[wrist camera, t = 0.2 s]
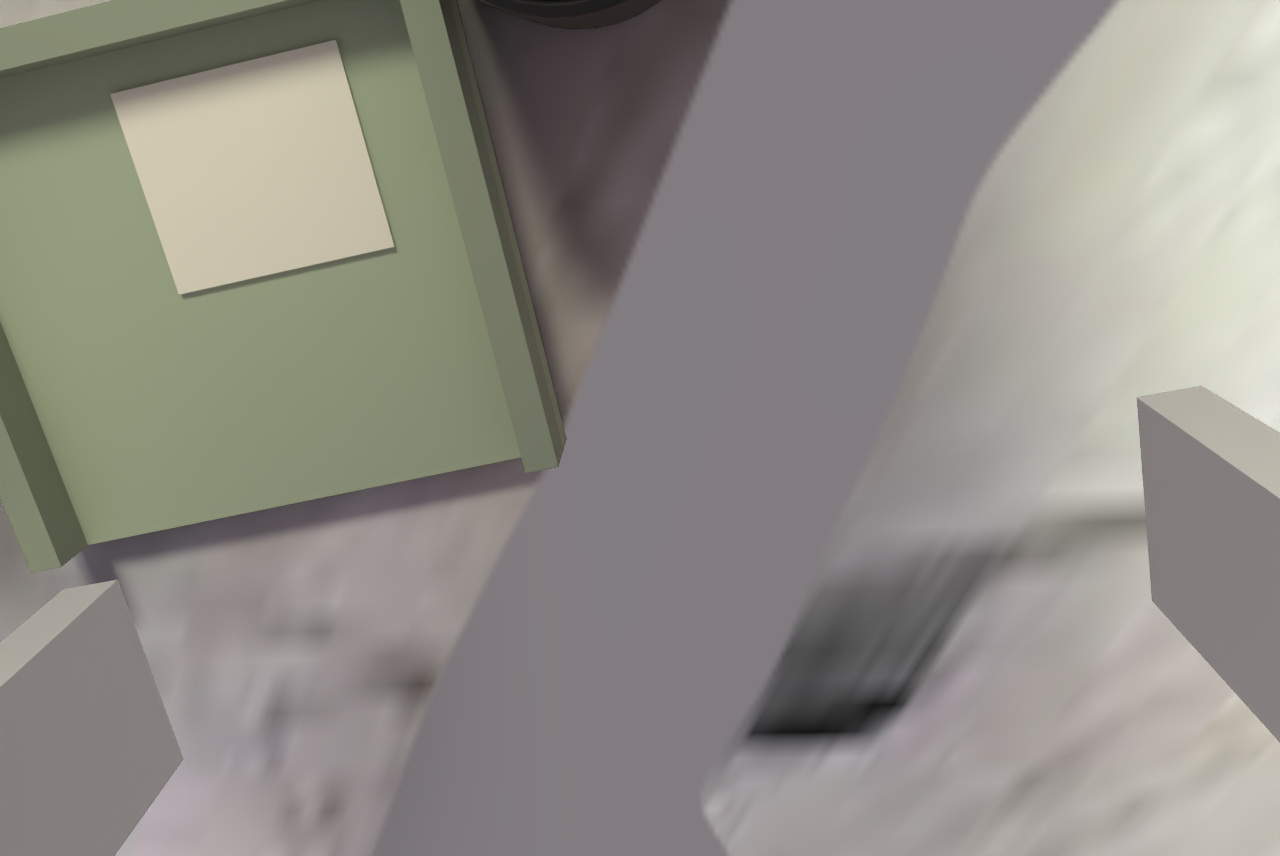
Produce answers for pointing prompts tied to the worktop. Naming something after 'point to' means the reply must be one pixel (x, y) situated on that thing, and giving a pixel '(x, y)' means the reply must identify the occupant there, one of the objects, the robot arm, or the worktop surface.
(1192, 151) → the worktop surface
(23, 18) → the worktop surface
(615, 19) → the mug
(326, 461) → the sage green tray
